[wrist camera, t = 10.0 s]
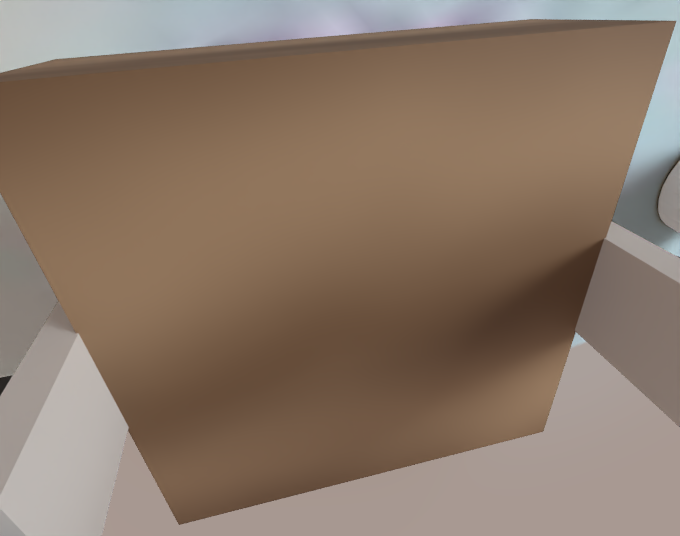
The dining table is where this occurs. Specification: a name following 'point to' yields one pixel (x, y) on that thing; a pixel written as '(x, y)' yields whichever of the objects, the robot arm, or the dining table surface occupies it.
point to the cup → (671, 199)
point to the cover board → (327, 237)
